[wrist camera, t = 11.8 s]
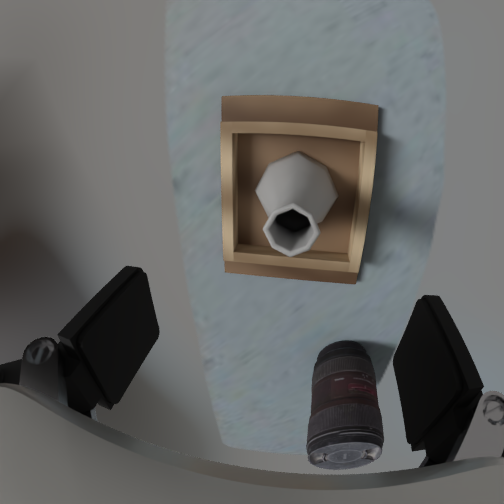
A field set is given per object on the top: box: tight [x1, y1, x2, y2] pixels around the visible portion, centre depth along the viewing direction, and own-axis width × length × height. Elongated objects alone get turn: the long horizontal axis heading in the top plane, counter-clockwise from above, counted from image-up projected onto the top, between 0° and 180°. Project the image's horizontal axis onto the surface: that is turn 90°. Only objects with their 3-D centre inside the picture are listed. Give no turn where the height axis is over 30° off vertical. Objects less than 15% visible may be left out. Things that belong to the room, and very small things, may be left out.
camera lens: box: [306, 341, 384, 470], centre depth 27 cm, size 8×8×15 cm
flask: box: [255, 151, 338, 257], centre depth 21 cm, size 7×7×10 cm
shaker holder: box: [221, 95, 378, 284], centre depth 25 cm, size 18×14×3 cm
